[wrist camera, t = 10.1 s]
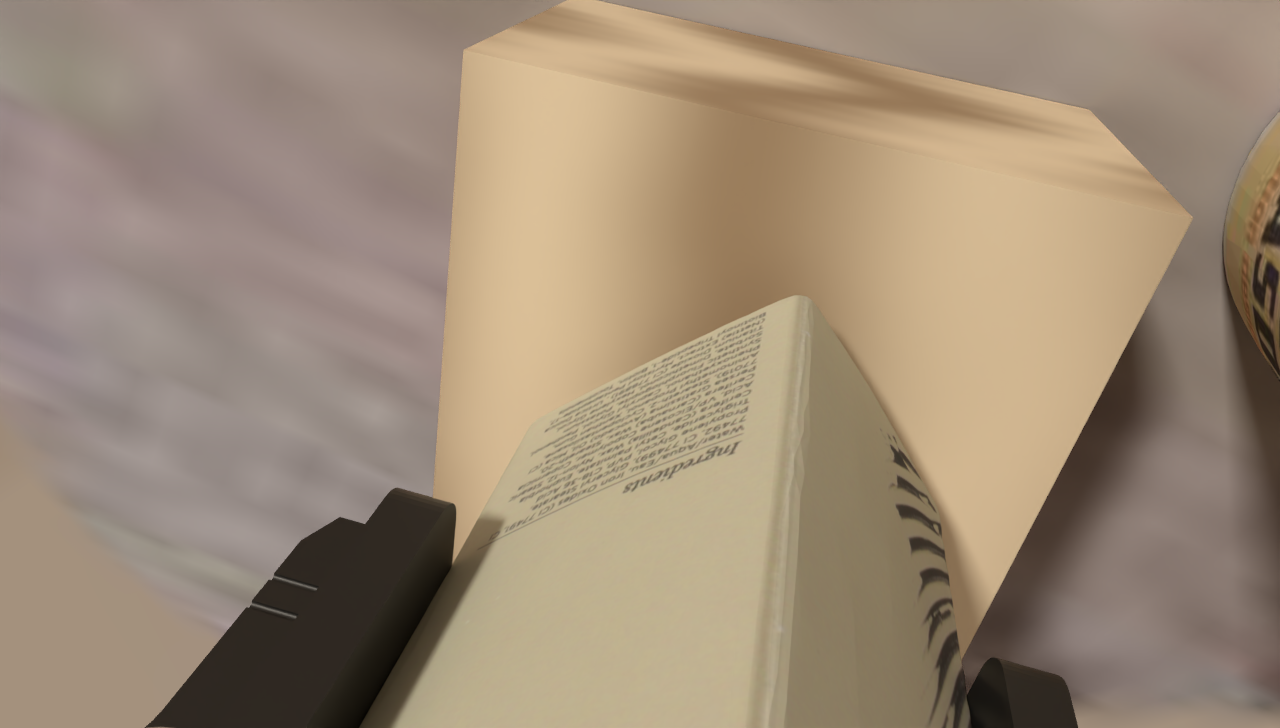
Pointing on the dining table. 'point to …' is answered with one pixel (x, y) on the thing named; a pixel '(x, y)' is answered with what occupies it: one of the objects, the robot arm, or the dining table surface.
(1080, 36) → the dining table surface
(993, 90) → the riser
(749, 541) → the box
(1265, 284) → the coffee cup
